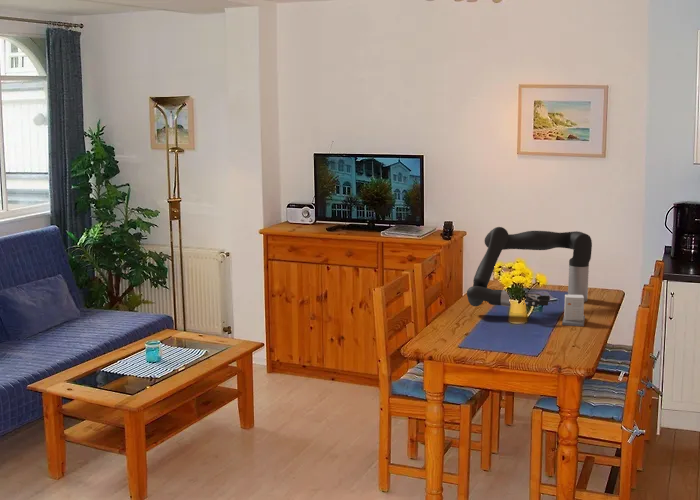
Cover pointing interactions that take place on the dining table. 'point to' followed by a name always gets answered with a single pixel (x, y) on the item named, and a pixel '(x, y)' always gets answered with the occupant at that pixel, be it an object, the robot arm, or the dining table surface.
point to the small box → (574, 307)
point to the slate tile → (573, 322)
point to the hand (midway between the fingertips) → (548, 300)
